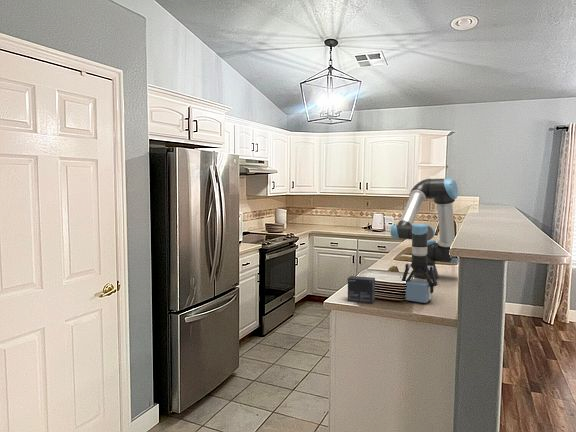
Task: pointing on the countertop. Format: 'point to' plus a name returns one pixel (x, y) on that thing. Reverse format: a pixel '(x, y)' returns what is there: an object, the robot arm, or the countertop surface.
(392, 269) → the rock
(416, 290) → the grey-blue square block
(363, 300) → the small box
